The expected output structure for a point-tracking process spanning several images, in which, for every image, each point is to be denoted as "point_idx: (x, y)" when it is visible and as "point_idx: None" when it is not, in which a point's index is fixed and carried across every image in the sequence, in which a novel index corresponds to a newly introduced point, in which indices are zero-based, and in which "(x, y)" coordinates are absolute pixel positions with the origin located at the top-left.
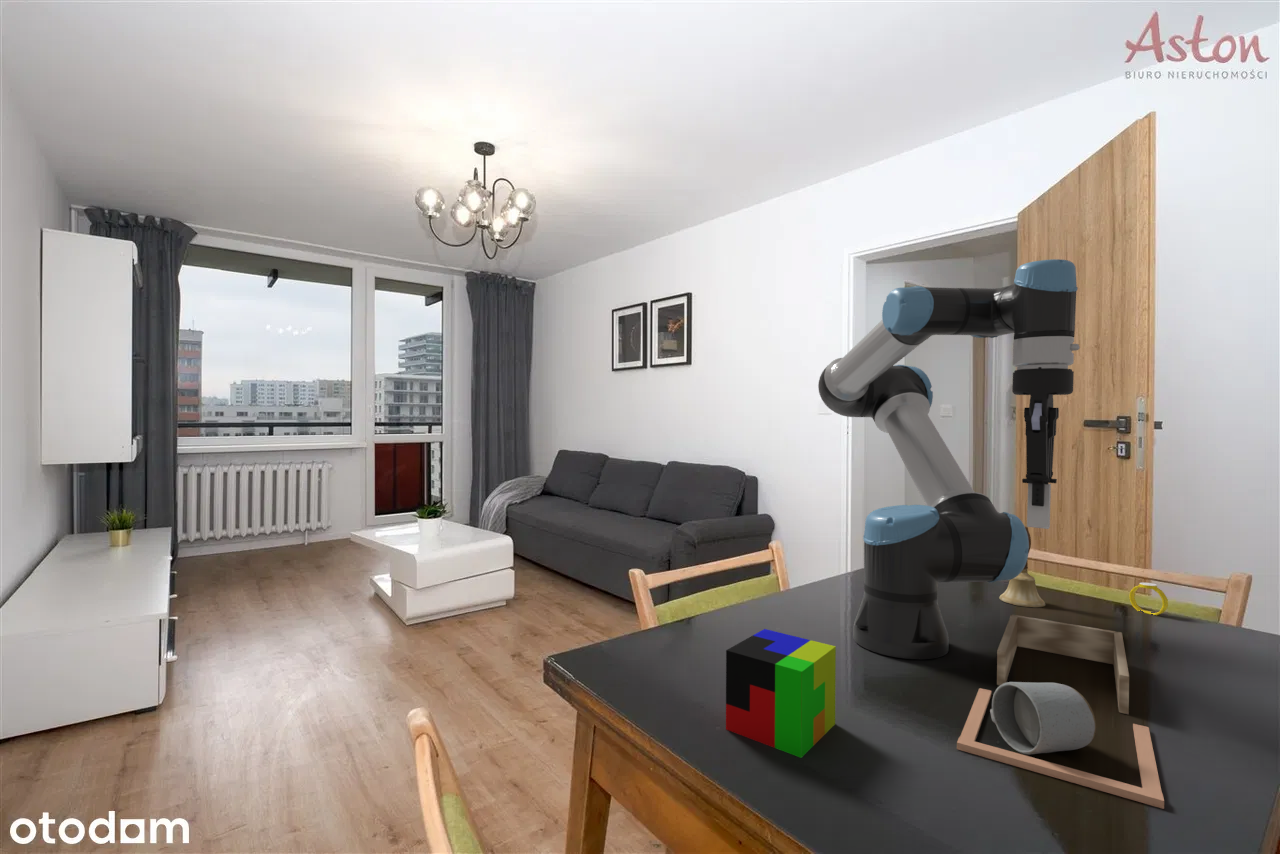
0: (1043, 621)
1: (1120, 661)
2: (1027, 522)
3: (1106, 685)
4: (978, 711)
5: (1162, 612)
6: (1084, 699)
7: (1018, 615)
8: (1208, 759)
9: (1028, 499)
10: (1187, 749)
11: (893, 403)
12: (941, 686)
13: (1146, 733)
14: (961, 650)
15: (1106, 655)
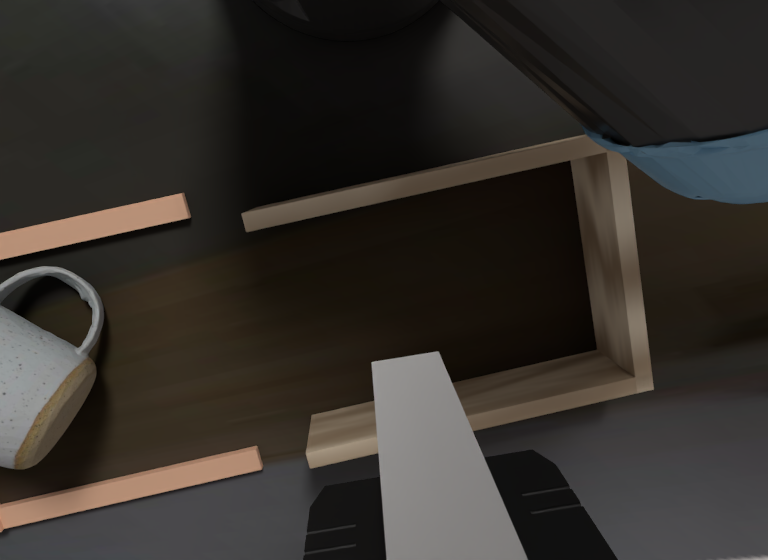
0: (614, 220)
1: None
2: (374, 375)
3: (446, 367)
4: (54, 236)
5: None
6: (14, 465)
7: None
8: (224, 542)
9: (380, 470)
10: (238, 517)
11: None
12: (139, 118)
13: (229, 472)
14: (424, 57)
15: (602, 342)
